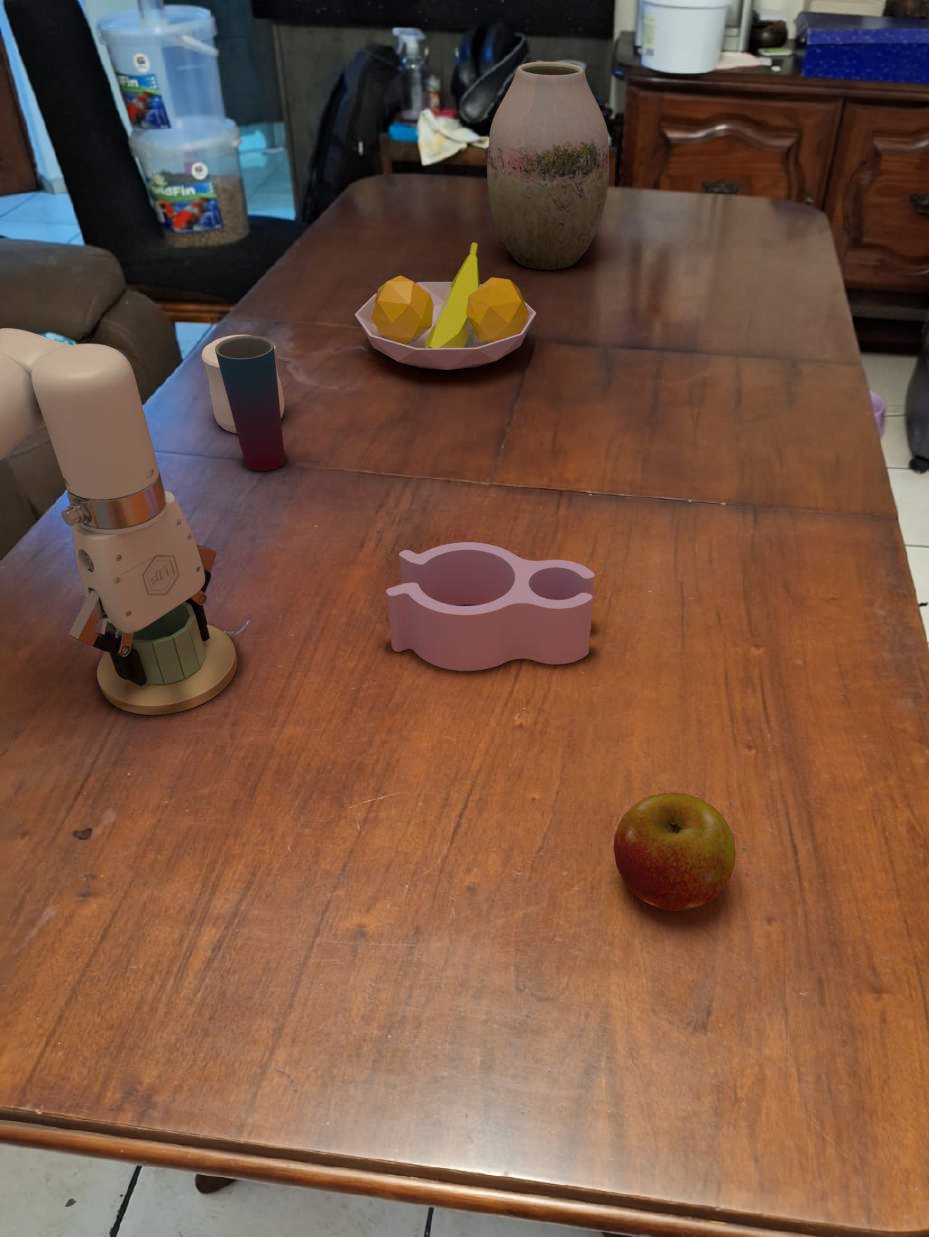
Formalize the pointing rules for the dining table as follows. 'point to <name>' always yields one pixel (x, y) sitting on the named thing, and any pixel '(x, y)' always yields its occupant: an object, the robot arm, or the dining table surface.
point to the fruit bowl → (447, 319)
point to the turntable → (177, 694)
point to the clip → (489, 607)
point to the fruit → (674, 851)
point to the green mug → (170, 646)
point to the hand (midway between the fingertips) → (165, 656)
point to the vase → (548, 165)
